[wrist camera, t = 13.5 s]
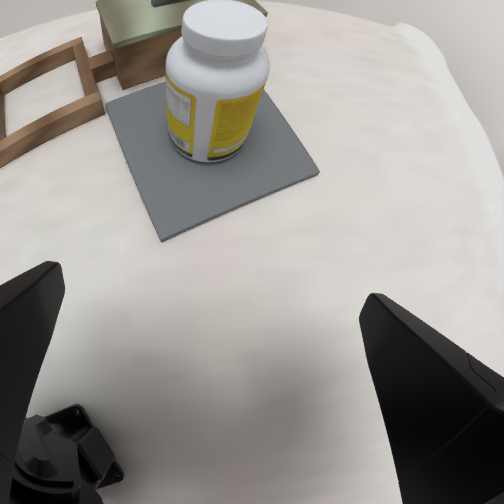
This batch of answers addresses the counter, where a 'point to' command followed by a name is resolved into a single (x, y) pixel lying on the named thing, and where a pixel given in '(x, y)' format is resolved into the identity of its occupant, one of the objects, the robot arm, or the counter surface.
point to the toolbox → (100, 65)
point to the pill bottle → (215, 78)
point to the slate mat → (203, 163)
